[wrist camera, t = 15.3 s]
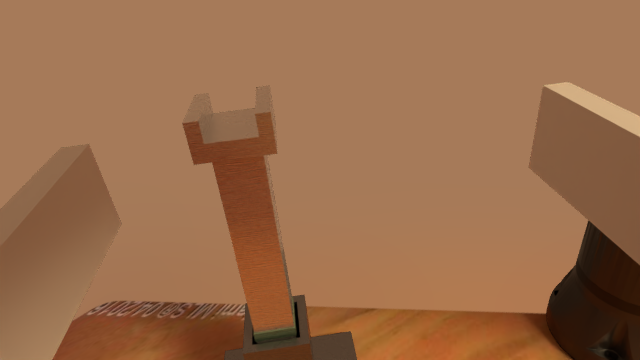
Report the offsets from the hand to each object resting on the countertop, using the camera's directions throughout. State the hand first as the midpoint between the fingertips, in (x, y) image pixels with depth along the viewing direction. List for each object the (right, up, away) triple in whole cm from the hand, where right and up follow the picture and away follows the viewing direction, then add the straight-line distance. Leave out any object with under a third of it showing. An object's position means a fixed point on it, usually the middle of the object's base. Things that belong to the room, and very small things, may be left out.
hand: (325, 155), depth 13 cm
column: (-4, -19, +31) cm, 37 cm away
